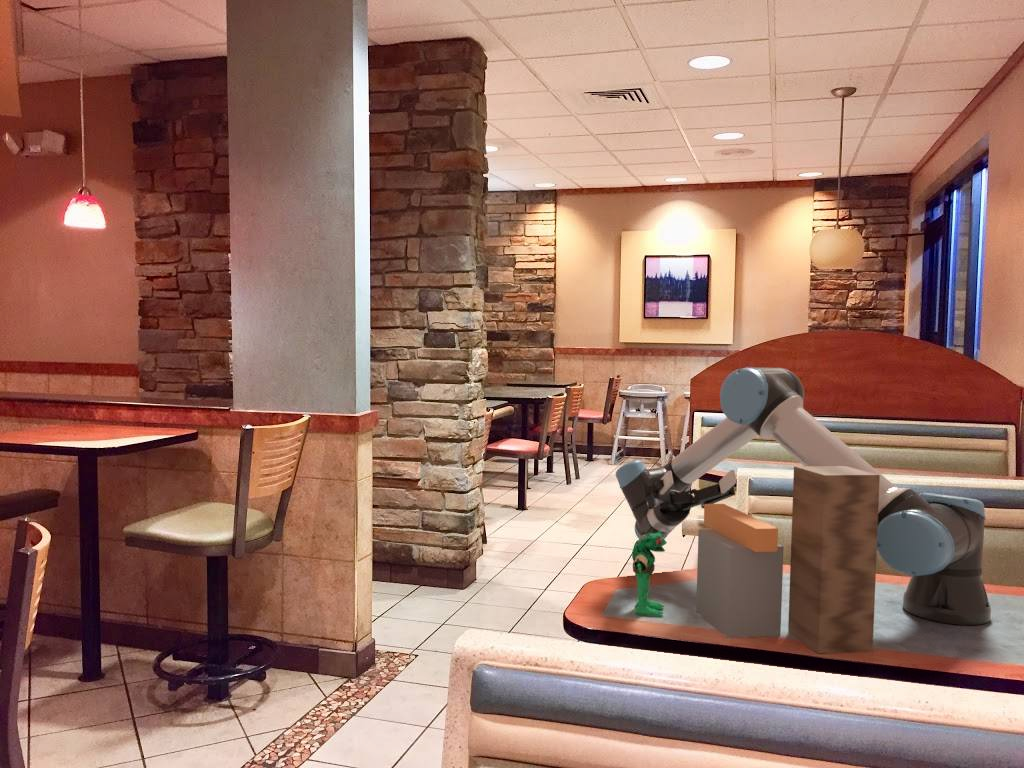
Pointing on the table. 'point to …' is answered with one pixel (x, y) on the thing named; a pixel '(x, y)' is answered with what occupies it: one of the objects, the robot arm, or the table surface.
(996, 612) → the table surface
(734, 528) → the orange rectangular bar
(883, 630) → the table surface
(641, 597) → the toy
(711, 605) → the grey upright cuboid
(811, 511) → the post
